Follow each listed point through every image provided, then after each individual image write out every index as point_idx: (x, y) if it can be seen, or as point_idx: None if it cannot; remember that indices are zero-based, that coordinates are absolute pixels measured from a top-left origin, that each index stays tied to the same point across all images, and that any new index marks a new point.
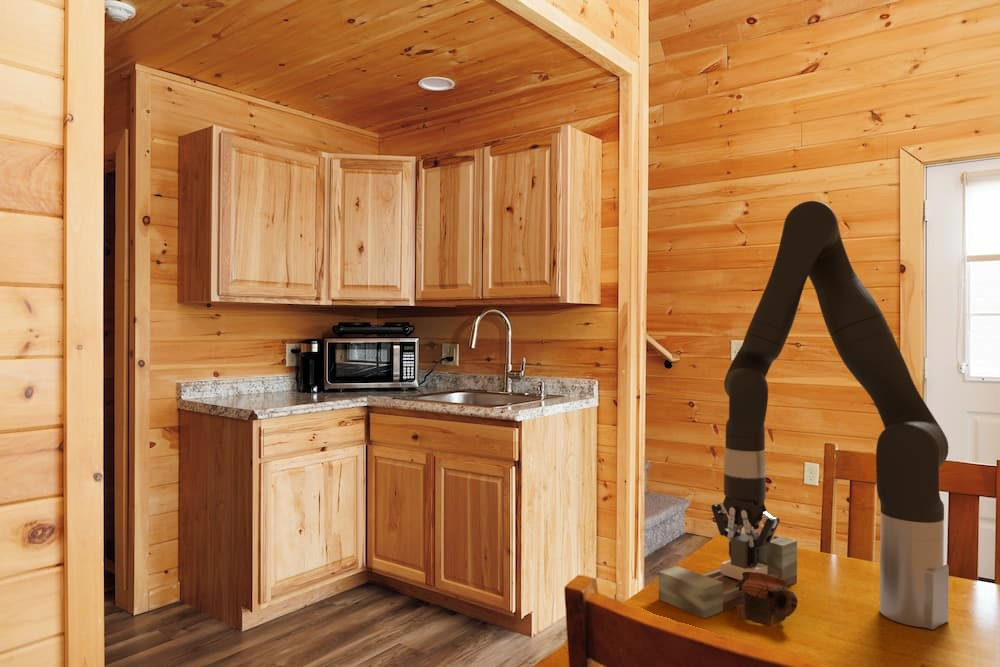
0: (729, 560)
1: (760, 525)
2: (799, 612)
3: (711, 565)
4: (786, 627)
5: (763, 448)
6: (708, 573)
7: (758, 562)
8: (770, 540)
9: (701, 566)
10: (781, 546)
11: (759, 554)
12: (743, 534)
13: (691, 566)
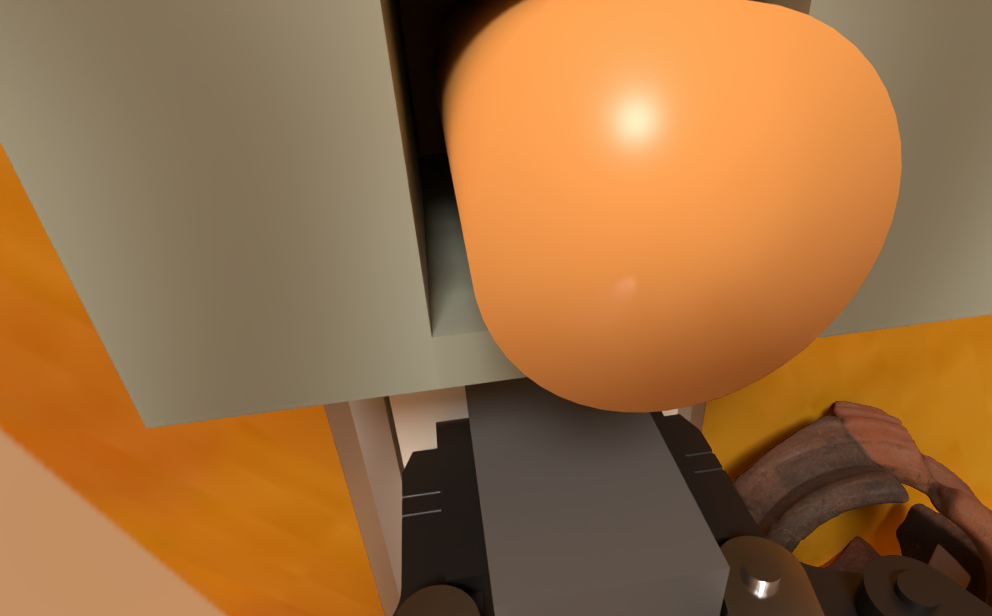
0: (405, 462)
1: (526, 302)
2: (927, 352)
3: (28, 225)
4: (918, 501)
5: None
6: (400, 554)
7: (684, 423)
8: (983, 608)
9: (35, 313)
10: (972, 303)
11: (728, 479)
12: (497, 610)
13: (17, 375)
